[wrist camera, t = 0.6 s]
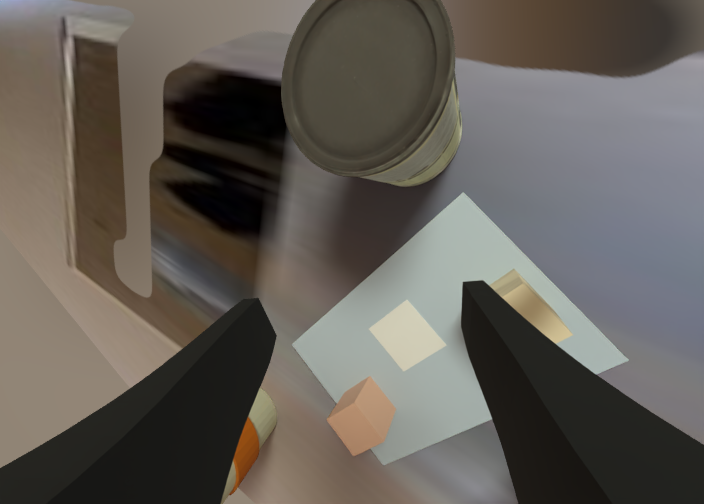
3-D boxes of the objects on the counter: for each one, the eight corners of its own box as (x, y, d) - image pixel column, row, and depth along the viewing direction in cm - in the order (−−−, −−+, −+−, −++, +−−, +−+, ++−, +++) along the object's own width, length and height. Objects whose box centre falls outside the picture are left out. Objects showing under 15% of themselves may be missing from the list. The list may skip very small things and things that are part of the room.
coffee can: (348, 163, 30) (260, 136, 18) (389, 66, 27) (316, -55, 14) (427, 205, 28) (391, 207, 15) (485, 103, 24) (502, -9, 11)
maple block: (554, 310, 24) (573, 334, 19) (505, 337, 26) (512, 365, 22) (513, 268, 25) (523, 283, 20) (469, 298, 27) (469, 317, 22)
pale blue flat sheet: (625, 356, 23) (629, 360, 22) (384, 461, 35) (383, 466, 35) (463, 192, 26) (463, 192, 25) (294, 342, 38) (291, 344, 38)
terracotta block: (396, 408, 33) (384, 441, 28) (368, 423, 35) (353, 456, 30) (369, 375, 33) (354, 402, 29) (344, 392, 35) (326, 419, 31)
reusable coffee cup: (227, 419, 48) (133, 502, 35) (230, 361, 45) (128, 429, 32) (281, 455, 44) (198, 568, 30) (290, 394, 41) (200, 490, 27)
